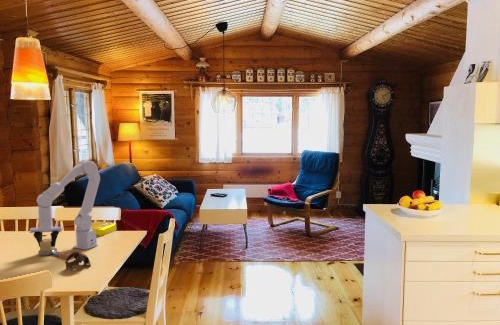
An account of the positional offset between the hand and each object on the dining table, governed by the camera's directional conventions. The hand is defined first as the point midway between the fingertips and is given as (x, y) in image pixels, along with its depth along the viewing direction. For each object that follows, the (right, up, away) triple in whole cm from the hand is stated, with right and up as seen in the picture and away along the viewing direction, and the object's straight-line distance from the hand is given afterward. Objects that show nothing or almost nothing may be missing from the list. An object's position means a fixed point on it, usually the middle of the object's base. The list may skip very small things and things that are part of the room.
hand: (47, 246), depth 195 cm
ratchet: (+6, -4, -2) cm, 8 cm away
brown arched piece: (+23, -6, -18) cm, 29 cm away
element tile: (+11, 0, +37) cm, 38 cm away
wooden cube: (0, -2, 0) cm, 2 cm away
